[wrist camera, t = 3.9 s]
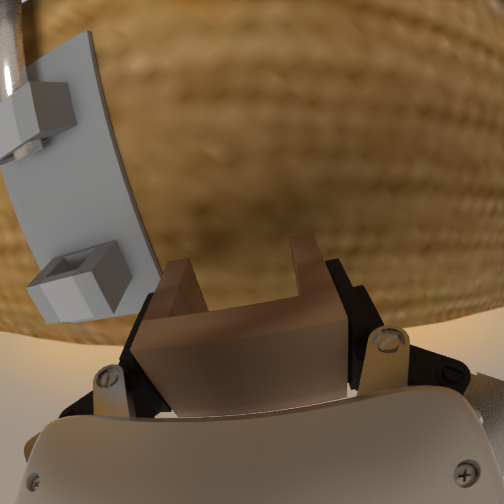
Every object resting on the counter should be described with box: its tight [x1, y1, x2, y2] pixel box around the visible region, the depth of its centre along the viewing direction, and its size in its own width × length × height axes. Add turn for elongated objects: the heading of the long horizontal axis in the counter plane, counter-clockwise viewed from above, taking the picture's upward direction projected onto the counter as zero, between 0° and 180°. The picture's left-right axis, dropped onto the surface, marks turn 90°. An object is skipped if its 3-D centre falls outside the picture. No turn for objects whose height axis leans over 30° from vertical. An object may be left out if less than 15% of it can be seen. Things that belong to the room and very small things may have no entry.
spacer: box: [130, 234, 348, 417], centre depth 11 cm, size 6×4×5 cm, turn 102°
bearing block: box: [0, 30, 162, 324], centre depth 15 cm, size 10×20×5 cm, turn 12°
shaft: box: [0, 0, 43, 162], centre depth 10 cm, size 4×15×3 cm, turn 12°
